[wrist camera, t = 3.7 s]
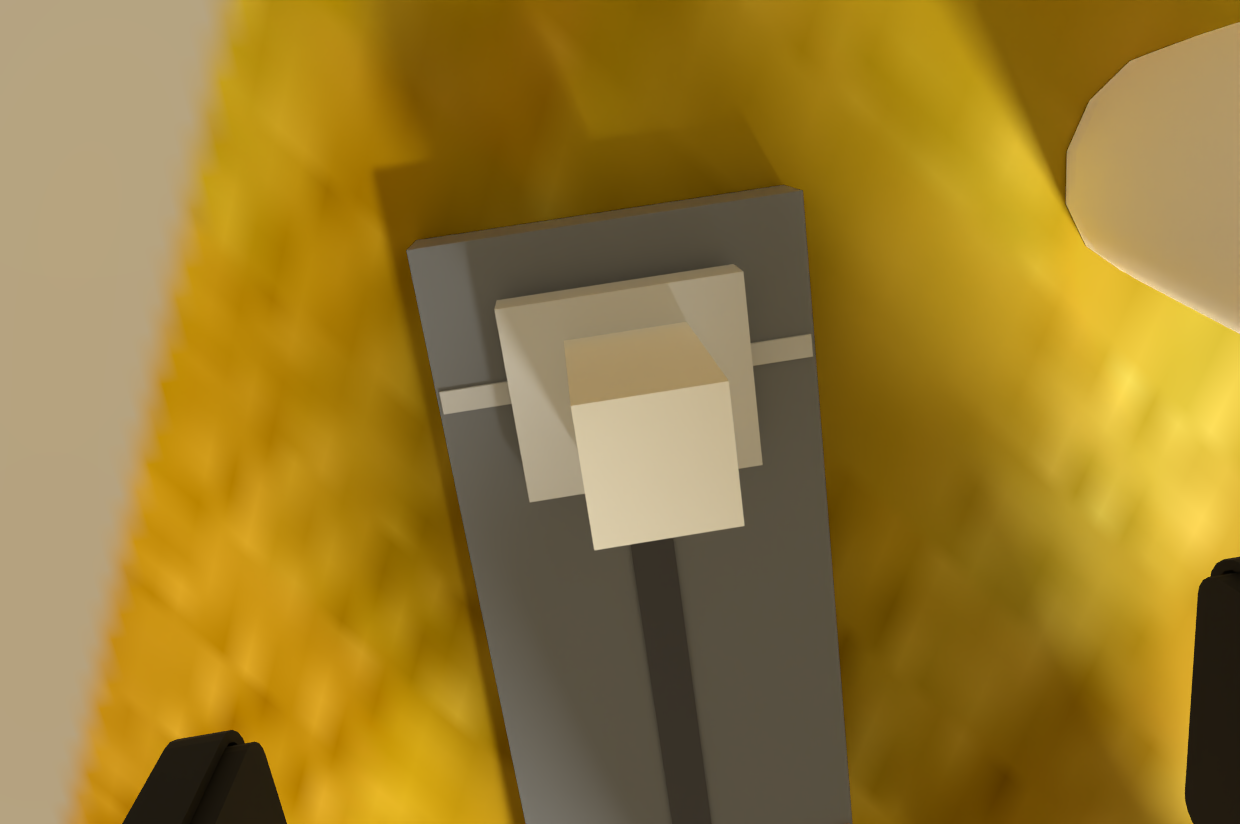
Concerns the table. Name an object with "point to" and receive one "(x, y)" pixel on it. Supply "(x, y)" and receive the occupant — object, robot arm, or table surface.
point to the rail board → (651, 544)
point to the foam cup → (1167, 172)
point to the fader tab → (636, 401)
